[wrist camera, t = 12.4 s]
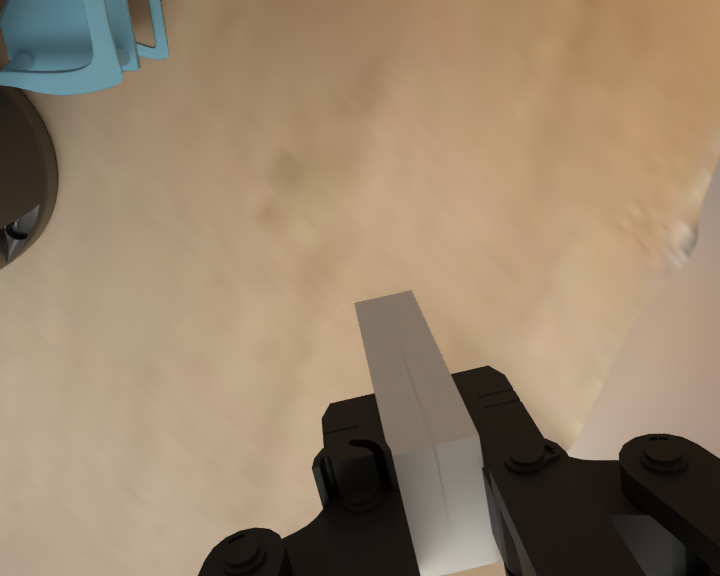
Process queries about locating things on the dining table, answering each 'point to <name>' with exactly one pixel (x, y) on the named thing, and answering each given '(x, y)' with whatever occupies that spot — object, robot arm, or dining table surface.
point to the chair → (74, 44)
